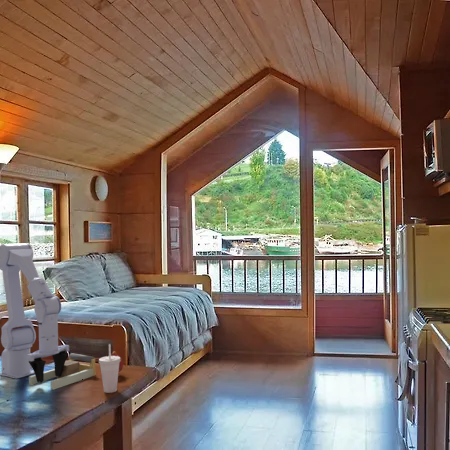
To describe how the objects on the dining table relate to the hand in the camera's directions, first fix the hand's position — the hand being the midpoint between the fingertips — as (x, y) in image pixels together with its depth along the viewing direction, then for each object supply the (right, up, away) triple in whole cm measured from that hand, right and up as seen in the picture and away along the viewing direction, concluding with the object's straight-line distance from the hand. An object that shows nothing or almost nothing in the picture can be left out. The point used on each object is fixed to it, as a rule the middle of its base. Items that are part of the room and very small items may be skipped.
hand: (49, 378), depth 164 cm
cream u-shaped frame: (+3, -2, +4) cm, 5 cm away
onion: (+19, -1, +7) cm, 20 cm away
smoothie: (+21, -1, -8) cm, 23 cm away
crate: (+4, -2, +6) cm, 7 cm away
